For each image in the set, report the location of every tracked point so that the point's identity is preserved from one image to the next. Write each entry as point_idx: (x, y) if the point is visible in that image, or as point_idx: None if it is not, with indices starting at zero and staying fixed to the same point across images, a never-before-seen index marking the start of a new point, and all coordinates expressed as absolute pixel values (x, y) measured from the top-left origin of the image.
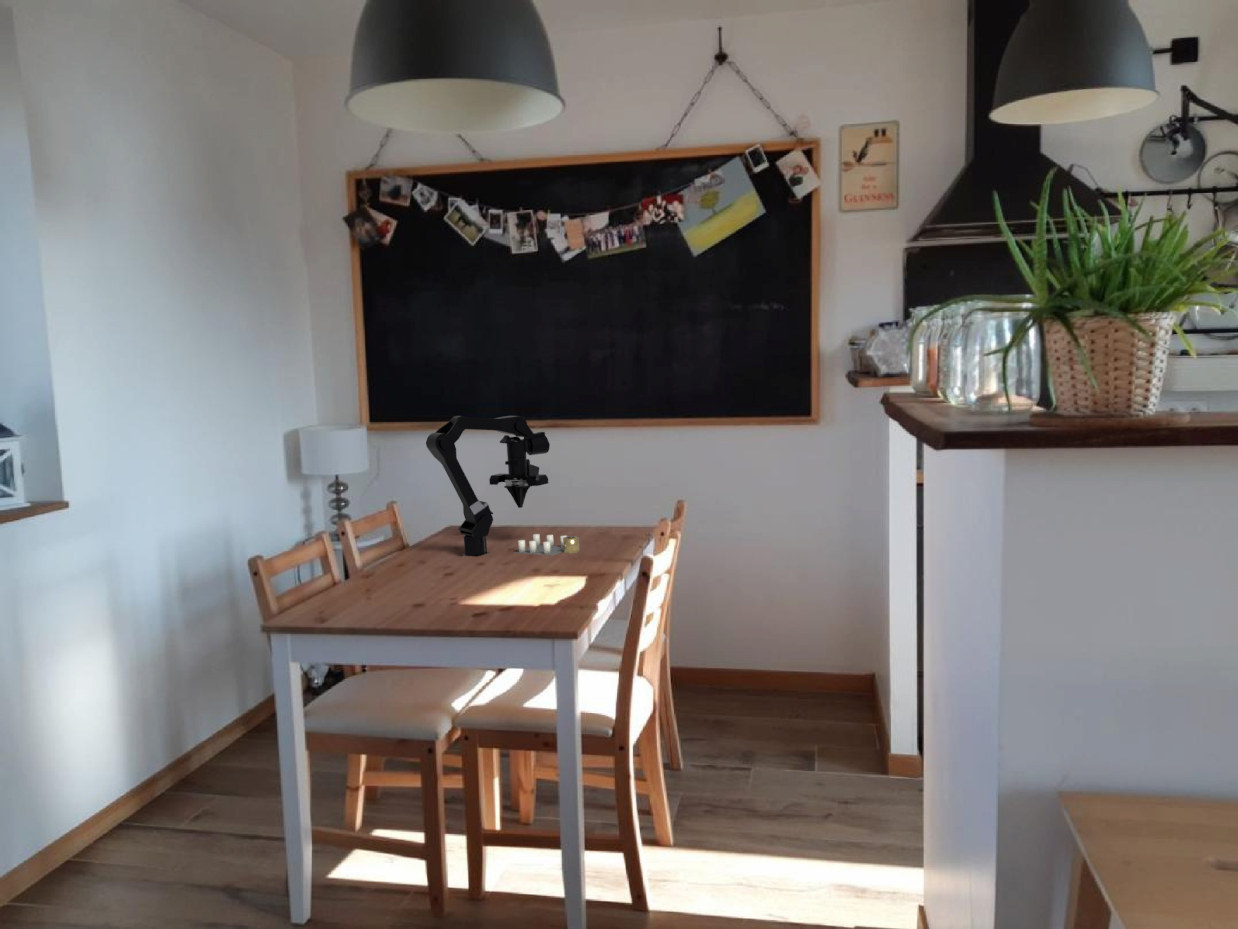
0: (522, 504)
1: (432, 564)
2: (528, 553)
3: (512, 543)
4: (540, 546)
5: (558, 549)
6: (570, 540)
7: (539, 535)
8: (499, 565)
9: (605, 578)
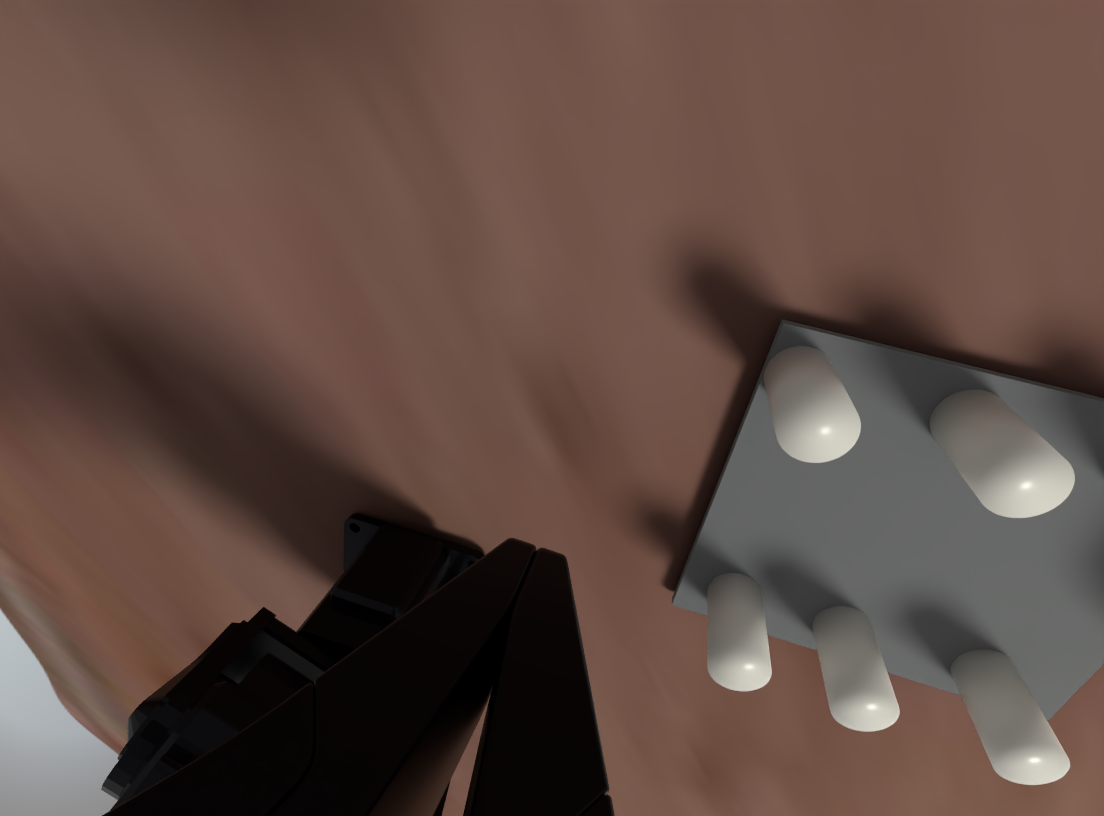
0: (566, 615)
1: None
2: (803, 639)
3: (452, 161)
4: None
5: (1080, 542)
6: None
7: (858, 422)
8: (687, 801)
9: None
